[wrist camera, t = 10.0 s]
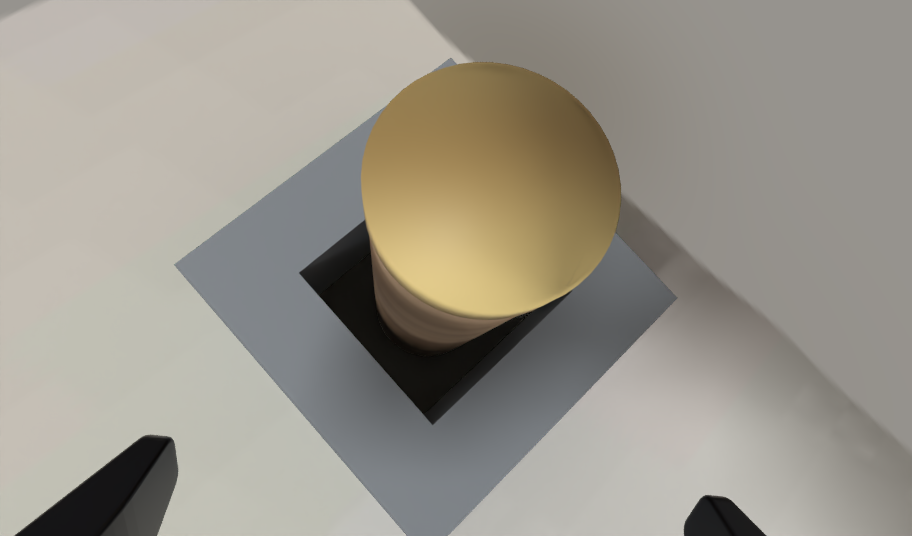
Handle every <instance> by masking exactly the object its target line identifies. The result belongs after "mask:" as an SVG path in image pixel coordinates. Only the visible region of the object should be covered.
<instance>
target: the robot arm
mask: <svg viewBox="0 0 912 536" xmlns="http://www.w3.org/2000/svg"><path fill="white" fill-rule="evenodd" d="M177 477H178V464H177V457H176V450H175V443H174V440H173V439H172V438H171V437H168V436H158V435H145V436H143V437H141V438H140V439H138V440H137V441H136V442H134V443H133V444H132V445H131V446H129V447H128V448H127V449H125V450H124V451H123V452H122V453H120V454H119V455H118V456H116V457H115V458H114V459H113V460H111V461H110V462H109V463H107V464H106V465H105V466H104V467H102V468H101V469H100V470H98V471H97V472H96V473H95V474H93V475H92V476H91V477H89V478H88V479H87V480H85V481H84V482H83V483H82V484H80V485H79V486H78V487H76V488H75V489H74V490H73V491H71V492H70V493H69V494H67V495H66V496H65V497H64V498H62V499H61V500H60V501H58V502H57V503H56V504H55V505H53V506H52V507H51V508H49V509H48V510H47V511H46V512H44V513H43V514H42V515H40V516H39V517H38V518H37V519H35V520H34V521H33V522H31V523H30V524H29V525H27V526H26V527H25V528H24V529H22V530H21V531H20V532H18V533H17V534H16V535H15V536H157V534H158V532H159V529H160V526H161V523H162V521H163V518H164V515H165V512H166V510H167V507H168V504H169V501H170V499H171V496H172V493H173V491H174V488H175V485H176V482H177ZM684 536H766V535H765V534H764V533H763V532H762V531H761V530H760V529H759V528H758V527H757V526H756V525H755V524H754V523H753V522H752V521H751V520H750V519H749V518H748V517H747V516H746V515H745V514H744V513H743V512H742V511H741V510H740V509H739V508H738V507H737V506H736V505H735V504H734V503H733V502H732V501H731V500H730V499H728V498H726V497H721V496H712V495H705V496H703V497H702V498H701V499H700V500H699V501H698V503H697V504H696V506H695V507H694V509H693V510H692V512H691V513H690V515H689V516H688V518H687V519H686V521H685V525H684Z"/></svg>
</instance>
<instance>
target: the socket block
mask: <svg viewBox="0 0 912 536" xmlns="http://www.w3.org/2000/svg"><path fill="white" fill-rule="evenodd" d="M453 65H457V64H456V63H455V62H454V61H453V59H452V58H450V59H448V60H447V61H446V62H444V63H443V64H442V65H440V66H439V67H438V68H436V69H435V70H434V71H437V70H439V69H442V68H445V67H449V66H453ZM434 71H432V72H434ZM432 72H431V73H432ZM386 107H387V106H386ZM386 107H384V108H383V109H382V110H380V111H379V112H377V113H376V114H375V115H373V116H372V117H371V118H369V119H368V120H367V121H365V122H364V123H363V124H361V125H360V126H359V127H357V128H356V129H355V130H353V131H352V132H351V133H349V134H348V135H347V136H345V137H344V138H343V139H341V140H340V141H339V142H337V143H336V144H335V145H333V146H332V147H331V148H329V149H328V150H327V151H325V152H324V153H323V154H321V155H320V156H319V157H317V158H316V159H315V160H313V161H312V162H311V163H309V164H308V165H307V166H305V167H304V168H303V169H301V170H300V171H299V172H297V173H296V174H295V175H293V176H292V177H291V178H289V179H288V180H287V181H285V182H284V183H283V184H281V185H280V186H278V187H277V188H276V189H274V190H273V191H272V192H270V193H269V194H268V195H266V196H265V197H264V198H262V199H261V200H260V201H258V202H257V203H256V204H254V205H253V206H252V207H250V208H249V209H248V210H246V211H245V212H244V213H242V214H241V215H240V216H238V217H237V218H236V219H234V220H233V221H232V222H230V223H229V224H228V225H226V226H225V227H224V228H222V229H221V230H220V231H218V232H217V233H216V234H214V235H213V236H212V237H210V238H209V239H208V240H206V241H205V242H204V243H202V244H201V245H200V246H198V247H197V248H196V249H194V250H193V251H192V252H190V253H189V254H188V255H186V256H185V257H184V258H182V259H181V260H179V261H178V262H177V263H175V264H174V265H175V266H176V268H177V269H178V270H179V271H180V272H181V273H182V275H183V276H184V277H185V278H186V279H187V280H188V282H189V283H190V284H191V285H192V286H193V287H194V289H195V290H196V291H197V292H198V293H199V294H200V296H201V297H202V298H203V299H204V300H205V301H206V303H207V304H208V305H209V306H210V307H211V308H212V310H213V311H214V312H215V313H216V314H217V315H218V316H219V318H220V319H221V320H222V321H223V322H224V323H225V325H226V326H227V327H228V328H229V329H230V330H231V332H232V333H233V334H234V335H235V336H236V337H237V339H238V340H239V341H240V342H241V343H242V344H243V346H244V347H245V348H246V349H247V350H248V351H249V353H250V354H251V355H252V356H253V357H254V358H255V360H256V361H257V362H258V363H259V364H260V365H261V367H262V368H263V369H264V370H265V371H266V372H267V373H268V375H269V376H270V377H271V378H272V379H273V380H274V382H275V383H276V384H277V385H278V386H279V387H280V389H281V390H282V391H283V392H284V393H285V394H286V396H287V397H288V398H289V399H290V400H291V401H292V403H293V404H294V405H295V406H296V407H297V408H298V410H299V411H300V412H301V413H302V414H303V415H304V417H305V418H306V419H307V420H308V421H309V422H310V424H311V425H312V426H313V427H314V428H315V429H316V431H317V432H318V433H319V434H320V435H321V436H322V437H323V439H324V440H325V441H326V442H327V443H328V444H329V446H330V447H331V448H332V449H333V450H334V451H335V453H336V454H337V455H338V456H339V457H340V458H341V460H342V461H343V462H344V463H345V464H346V465H347V467H348V468H349V469H350V470H351V471H352V472H353V474H354V475H355V476H356V477H357V478H358V479H359V481H360V482H361V483H362V484H363V485H364V486H365V488H366V489H367V490H368V491H369V492H370V493H371V494H372V496H373V497H374V498H375V499H376V500H377V501H378V503H379V504H380V505H381V506H382V507H383V508H384V510H385V511H386V512H387V513H388V514H389V515H390V517H391V518H392V519H393V520H394V521H395V522H396V524H397V525H398V526H399V527H400V528H401V529H402V531H403V532H404V533H405V534H406V535H407V536H448V535H449V534H450V533H451V532H452V531H453V530H454V529H455V528H456V527H457V526H458V525H459V524H460V523H461V522H462V521H463V520H464V518H465V517H466V516H467V515H468V514H469V513H470V512H471V511H472V510H473V509H474V508H475V507H476V506H477V505H478V504H479V503H480V502H481V501H482V500H483V499H484V498H485V497H486V496H487V495H488V494H489V493H490V492H491V491H492V489H493V488H494V487H495V486H496V485H497V484H498V483H499V482H500V481H501V480H502V479H503V478H504V477H505V476H506V475H507V474H508V473H509V472H510V471H511V470H512V469H513V468H514V467H515V466H516V465H517V464H518V463H519V462H520V461H521V459H522V458H523V457H524V456H525V455H526V454H527V453H528V452H529V451H530V450H531V449H532V448H533V447H534V446H535V445H536V444H537V443H538V442H539V441H540V440H541V439H542V438H543V437H544V436H545V435H546V434H547V433H548V432H549V430H550V429H551V428H552V427H553V426H554V425H555V424H556V423H557V422H558V421H559V420H560V419H561V418H562V417H563V416H564V415H565V414H566V413H567V412H568V411H569V410H570V409H571V408H572V407H573V406H574V405H575V404H576V403H577V401H578V400H579V399H580V398H581V397H582V396H583V395H584V394H585V393H586V392H587V391H588V390H589V389H590V388H591V387H592V386H593V385H594V384H595V383H596V382H597V381H598V380H599V379H600V378H601V377H602V376H603V375H604V374H605V372H606V371H607V370H608V369H609V368H610V367H611V366H612V365H613V364H614V363H615V362H616V361H617V360H618V359H619V358H620V357H621V356H622V355H623V354H624V353H625V352H626V351H627V350H628V349H629V348H630V347H631V346H632V345H633V343H634V342H635V341H636V340H637V339H638V338H639V337H640V336H641V335H642V334H643V333H644V332H645V331H646V330H647V329H648V328H649V327H650V326H651V325H652V324H653V323H654V322H655V321H656V320H657V319H658V318H659V317H660V316H661V314H662V313H663V312H664V311H665V310H666V309H667V308H668V307H669V306H670V305H671V304H672V303H673V302H674V301H675V300H676V299H677V297H676V296H675V295H674V294H673V293H672V292H671V291H670V290H669V289H668V287H667V286H666V285H665V284H664V283H663V282H662V281H661V280H660V279H659V278H658V277H657V276H656V275H655V274H654V273H653V272H652V271H651V269H650V268H649V267H648V266H647V265H646V264H645V263H644V262H643V261H642V260H641V259H640V258H639V257H638V256H637V255H636V254H635V252H634V251H633V250H632V249H631V248H630V247H629V246H628V245H627V244H626V243H625V242H624V241H623V240H622V239H621V238H620V237H619V236H618V234H617V233H616V232H615V234H614V236H613V239H612V241H611V244H610V246H609V248H608V250H607V251H606V253H605V255H604V257H603V258H602V260H601V261H600V263H599V264H598V265H597V266H596V268H595V269H594V270H593V271H592V273H591V274H590V275H589V276H588V277H587V278H585V279H584V280H583V281H582V282H581V283H580V284H579V285H578V286H576V287H575V288H573V289H572V290H571V291H569V292H568V293H566V294H565V295H563V296H561V297H559V298H557V299H555V300H553V301H551V302H549V303H547V304H545V305H543V306H541V307H539V308H537V309H535V310H534V311H533V312H532V313H531V314H530V315H528V316H527V317H526V318H525V319H524V320H523V321H522V322H521V323H520V324H519V325H518V326H517V327H516V328H515V329H514V330H513V331H512V332H511V333H510V334H508V335H507V336H506V337H505V338H504V339H503V340H502V341H501V342H500V343H499V344H498V345H497V346H496V347H495V348H494V349H493V350H492V351H491V352H489V353H488V354H487V355H486V356H485V357H484V358H483V359H482V360H481V361H480V362H479V363H478V364H477V365H476V366H475V367H474V368H473V369H472V370H470V371H469V372H468V373H467V374H466V375H465V376H464V377H463V378H462V379H461V380H460V381H459V382H458V383H457V384H456V385H455V386H454V387H453V388H452V389H450V390H449V391H448V392H447V393H446V394H445V395H444V396H443V397H442V398H441V399H440V400H439V401H438V402H437V403H436V404H435V405H434V406H433V407H431V408H430V409H429V410H428V411H427V412H426V413H425V414H424V415H423V414H422V413H421V411H420V410H419V409H418V408H417V407H416V406H415V405H414V403H413V402H412V401H411V400H410V399H409V398H408V397H407V395H406V394H405V393H404V392H403V391H402V390H401V389H400V388H399V386H398V385H397V384H396V383H395V382H394V381H393V380H392V378H391V377H390V376H389V375H388V374H387V373H386V372H385V371H384V369H383V368H382V367H381V366H380V365H379V364H378V363H377V361H376V360H375V359H374V358H373V357H372V356H371V355H370V353H369V352H368V351H367V350H366V349H365V348H364V347H363V346H362V344H361V343H360V342H359V341H358V340H357V339H356V338H355V336H354V335H353V334H352V333H351V332H350V331H349V330H348V328H347V327H346V326H345V325H344V324H343V323H342V322H341V321H340V319H339V318H338V317H337V316H336V315H335V314H334V313H333V311H332V310H331V309H330V308H329V307H328V306H327V305H326V303H325V302H324V301H323V300H322V299H321V298H320V297H319V296H318V295H320V294H321V293H322V292H323V291H324V290H326V289H327V288H328V287H329V286H330V285H332V284H333V283H334V282H335V281H336V280H338V279H339V278H340V277H341V276H343V275H344V274H345V273H346V272H347V271H349V270H350V269H351V268H352V267H353V266H355V265H356V264H357V263H358V262H360V261H361V260H362V259H363V258H364V257H366V256H367V255H368V254H369V253H370V252H371V248H370V238H369V234H368V231H367V227H366V221H365V216H364V209H363V200H362V190H361V169H362V159H363V155H364V151H365V147H366V143H367V140H368V138H369V135H370V133H371V130H372V128H373V126H374V125H375V123H376V121H377V119H378V118H379V116H380V114H381V113H382V112H383V110H384V109H385V108H386Z"/></svg>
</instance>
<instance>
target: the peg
mask: <svg viewBox="0 0 912 536" xmlns="http://www.w3.org/2000/svg"><path fill="white" fill-rule="evenodd" d="M361 190H362V200H363V209H364V216H365V221H366V227H367V231H368V234H369V238H370V248H371V258H372V269H373V279H374V289H375V299H376V309H377V315H378V319H379V322H380V325H381V327H382V329H383V331H384V332H385V334H386V336H387V337H388V338H389V339H390V340H391V341H392V342H393V343H394V344H395V345H396V346H398V347H399V348H401V349H402V350H404V351H406V352H408V353H411V354H414V355H419V356H437V355H442V354H445V353H447V352H450V351H452V350H454V349H455V348H457V347H459V346H461V345H463V344H465V343H467V342H469V341H471V340H472V339H474V338H476V337H478V336H480V335H482V334H484V333H486V332H488V331H490V330H491V329H493V328H495V327H497V326H499V325H501V324H503V323H505V322H507V321H508V320H510V319H512V318H514V317H516V316H519V315H522V314H525V313H528V312H531V311H533V310H535V309H537V308H539V307H541V306H543V305H545V304H547V303H549V302H551V301H553V300H555V299H557V298H559V297H561V296H563V295H565V294H566V293H568V292H569V291H571V290H572V289H573V288H575V287H576V286H578V285H579V284H580V283H581V282H582V281H583V280H584V279H585V278H587V277H588V276H589V275H590V274H591V273H592V271H593V270H594V269H595V268H596V266H597V265H598V264H599V263H600V261H601V260H602V258H603V257H604V255H605V253H606V251H607V250H608V248H609V246H610V244H611V241H612V239H613V236H614V234H615V231H616V227H617V223H618V220H619V214H620V206H621V183H620V177H619V170H618V167H617V163H616V159H615V156H614V153H613V150H612V148H611V146H610V143H609V141H608V139H607V137H606V135H605V134H604V132H603V130H602V128H601V127H600V125H599V124H598V122H597V121H596V120H595V118H594V117H593V116H592V114H591V113H590V112H589V111H588V110H587V109H586V108H585V107H584V105H582V103H581V102H580V101H579V100H577V99H576V98H575V97H574V96H573V95H572V94H570V93H569V92H568V91H567V90H565V89H564V88H562V87H561V86H559V85H558V84H556V83H555V82H553V81H551V80H549V79H548V78H545V77H544V76H542V75H540V74H537V73H534V72H532V71H529V70H527V69H524V68H520V67H516V66H512V65H508V64H501V63H493V62H473V63H464V64H458V65H453V66H449V67H445V68H442V69H439V70H437V71H434V72H432V73H429V74H427V75H425V76H423V77H422V78H420V79H418V80H416V81H414V82H413V83H412V84H410V85H409V86H407V87H406V88H405V89H403V90H402V91H401V92H400V93H399V94H398V95H397V96H396V97H395V98H394V99H393V100H392V101H390V103H389V104H388V105H387V107H386V108H385V109H384V110H383V112H382V113H381V114H380V116H379V118H378V119H377V121H376V123H375V125H374V126H373V128H372V130H371V133H370V135H369V138H368V140H367V143H366V147H365V151H364V155H363V159H362V169H361Z"/></svg>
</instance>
